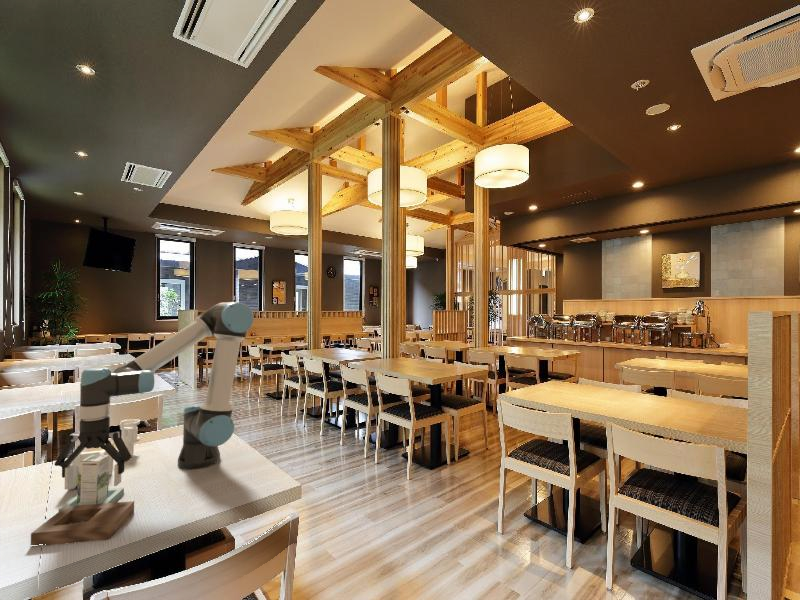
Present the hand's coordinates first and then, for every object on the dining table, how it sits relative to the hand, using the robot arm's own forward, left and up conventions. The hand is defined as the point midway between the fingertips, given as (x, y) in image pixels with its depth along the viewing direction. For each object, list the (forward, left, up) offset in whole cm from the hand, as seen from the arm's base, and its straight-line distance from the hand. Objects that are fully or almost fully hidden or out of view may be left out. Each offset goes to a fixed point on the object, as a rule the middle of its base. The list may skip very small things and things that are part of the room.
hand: (93, 485), depth 124 cm
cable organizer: (+10, -18, -6) cm, 21 cm away
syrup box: (0, 0, -6) cm, 6 cm away
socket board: (-6, +15, -6) cm, 17 cm away
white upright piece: (+9, -44, -6) cm, 45 cm away
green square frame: (0, 0, -6) cm, 6 cm away
